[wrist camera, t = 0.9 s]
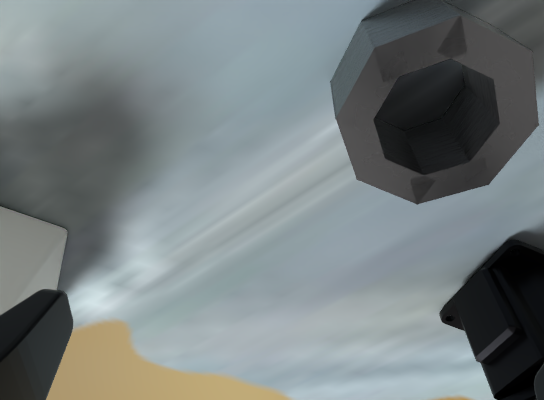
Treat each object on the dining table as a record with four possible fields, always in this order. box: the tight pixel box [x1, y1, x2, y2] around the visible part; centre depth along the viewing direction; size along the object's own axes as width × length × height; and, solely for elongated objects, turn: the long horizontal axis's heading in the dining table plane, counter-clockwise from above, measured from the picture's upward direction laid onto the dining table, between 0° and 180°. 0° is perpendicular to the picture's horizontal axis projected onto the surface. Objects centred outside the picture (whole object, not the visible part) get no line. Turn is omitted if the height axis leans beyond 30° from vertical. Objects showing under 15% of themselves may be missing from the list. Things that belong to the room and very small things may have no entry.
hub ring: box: [330, 0, 539, 204], centre depth 17 cm, size 6×6×4 cm
